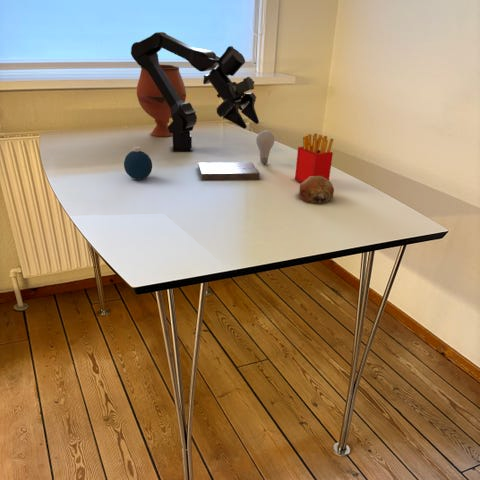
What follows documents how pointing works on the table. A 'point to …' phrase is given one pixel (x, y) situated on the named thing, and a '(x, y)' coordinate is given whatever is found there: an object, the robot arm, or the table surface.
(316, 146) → the french fries container
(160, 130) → the goblet
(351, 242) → the table surface
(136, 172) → the christmas ornament
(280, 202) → the table surface
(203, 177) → the walnut board
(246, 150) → the table surface
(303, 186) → the bread roll
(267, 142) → the lightbulb
